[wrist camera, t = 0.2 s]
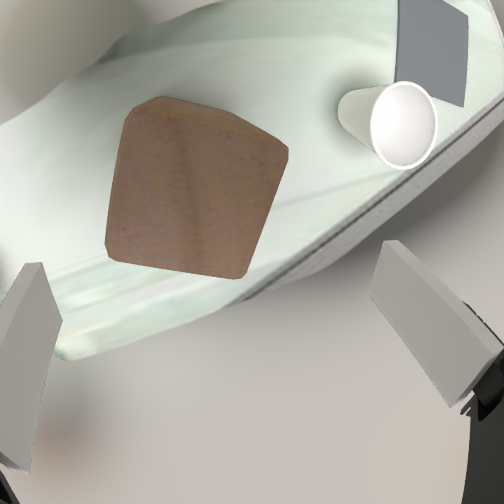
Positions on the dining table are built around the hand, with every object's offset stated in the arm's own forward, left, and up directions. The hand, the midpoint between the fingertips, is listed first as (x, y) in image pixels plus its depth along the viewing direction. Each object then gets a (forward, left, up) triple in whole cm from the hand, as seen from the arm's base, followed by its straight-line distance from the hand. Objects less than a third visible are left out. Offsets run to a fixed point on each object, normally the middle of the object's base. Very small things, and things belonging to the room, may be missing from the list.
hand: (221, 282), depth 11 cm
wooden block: (0, -1, -28) cm, 28 cm away
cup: (-5, +21, -28) cm, 36 cm away
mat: (-19, +35, -28) cm, 49 cm away
